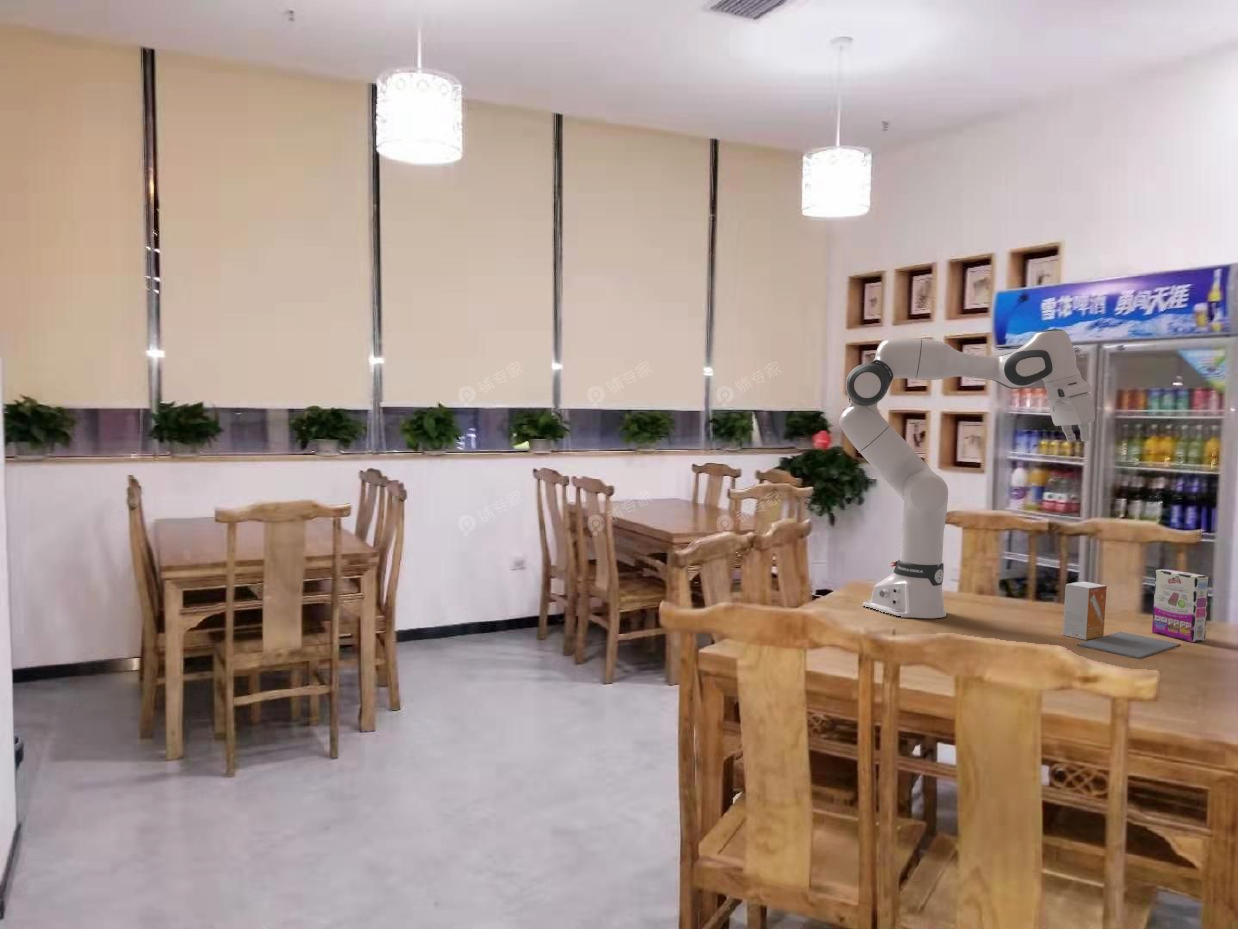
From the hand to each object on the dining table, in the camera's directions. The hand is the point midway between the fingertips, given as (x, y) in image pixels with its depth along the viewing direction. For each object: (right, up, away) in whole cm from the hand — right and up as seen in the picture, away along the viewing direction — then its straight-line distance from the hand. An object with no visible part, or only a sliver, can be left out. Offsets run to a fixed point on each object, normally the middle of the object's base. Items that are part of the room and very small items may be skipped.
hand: (1078, 441), depth 241 cm
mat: (+4, -50, -17) cm, 53 cm away
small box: (-3, -49, -8) cm, 50 cm away
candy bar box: (+21, -50, -7) cm, 54 cm away
